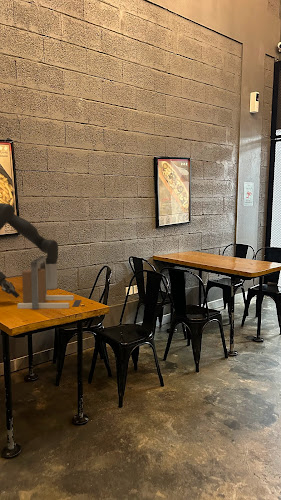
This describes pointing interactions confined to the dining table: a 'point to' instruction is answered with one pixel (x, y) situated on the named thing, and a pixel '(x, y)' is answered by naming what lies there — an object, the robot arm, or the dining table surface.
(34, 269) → the arch
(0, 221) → the robot arm
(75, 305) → the pad
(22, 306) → the walled lane
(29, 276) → the wooden block
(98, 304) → the dining table surface
